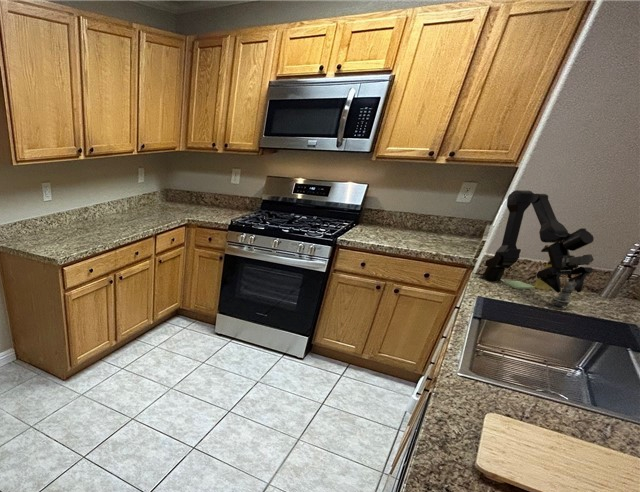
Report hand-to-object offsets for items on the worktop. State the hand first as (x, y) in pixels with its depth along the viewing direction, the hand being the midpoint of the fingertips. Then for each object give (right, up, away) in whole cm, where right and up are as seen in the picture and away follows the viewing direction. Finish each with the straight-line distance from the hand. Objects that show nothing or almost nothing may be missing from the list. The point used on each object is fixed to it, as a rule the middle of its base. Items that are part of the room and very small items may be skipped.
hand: (569, 292), depth 166 cm
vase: (+13, +7, +25) cm, 29 cm away
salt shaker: (0, -5, +5) cm, 7 cm away
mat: (+4, +9, +26) cm, 28 cm away
